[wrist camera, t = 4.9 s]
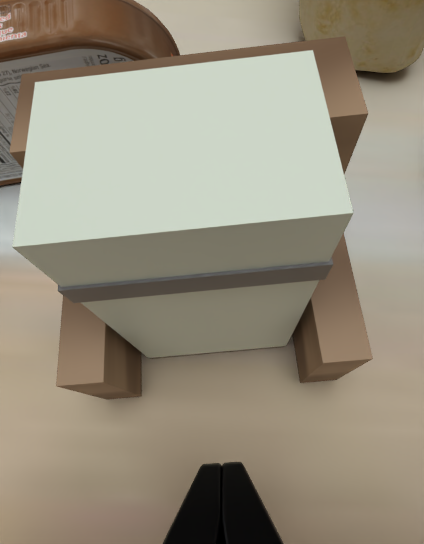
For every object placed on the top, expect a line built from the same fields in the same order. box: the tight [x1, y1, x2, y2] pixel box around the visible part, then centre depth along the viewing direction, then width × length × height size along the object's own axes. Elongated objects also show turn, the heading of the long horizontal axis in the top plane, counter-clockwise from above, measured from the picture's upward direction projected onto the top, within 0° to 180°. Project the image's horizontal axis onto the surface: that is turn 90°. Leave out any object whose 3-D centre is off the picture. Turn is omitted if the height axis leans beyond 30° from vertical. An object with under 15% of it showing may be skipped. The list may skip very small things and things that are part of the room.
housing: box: [9, 36, 373, 399], centre depth 14 cm, size 9×10×9 cm
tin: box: [0, 0, 180, 186], centre depth 18 cm, size 15×3×8 cm, turn 99°
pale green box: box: [12, 50, 353, 358], centre depth 13 cm, size 4×6×11 cm
